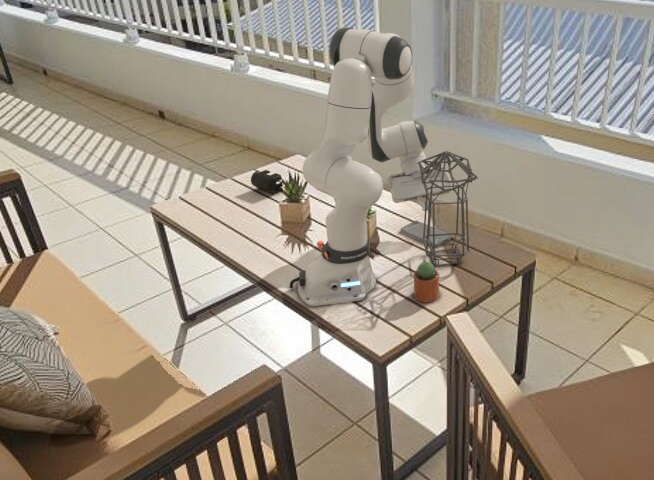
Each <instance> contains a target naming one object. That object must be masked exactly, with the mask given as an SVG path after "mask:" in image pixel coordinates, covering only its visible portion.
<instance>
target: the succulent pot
mask: <svg viewBox="0 0 654 480" xmlns="http://www.w3.org/2000/svg"><path fill="white" fill-rule="evenodd" d="M413 297H414V298H415V300H416V301H418V302H421V303H433V302H436V301H437V300H438V298H439V297H440V273H439V272H438V270H436V269H435V265H434V263H433V262H429V261H423V262H421V263H420V264H419V265H418V267H417V270H415V271H414V272H413Z"/></svg>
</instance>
